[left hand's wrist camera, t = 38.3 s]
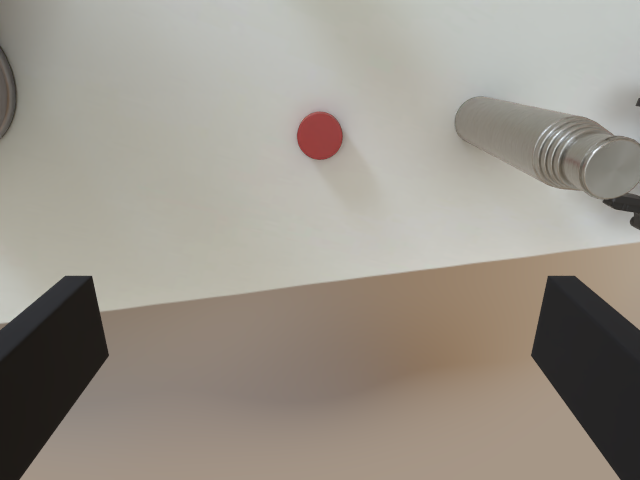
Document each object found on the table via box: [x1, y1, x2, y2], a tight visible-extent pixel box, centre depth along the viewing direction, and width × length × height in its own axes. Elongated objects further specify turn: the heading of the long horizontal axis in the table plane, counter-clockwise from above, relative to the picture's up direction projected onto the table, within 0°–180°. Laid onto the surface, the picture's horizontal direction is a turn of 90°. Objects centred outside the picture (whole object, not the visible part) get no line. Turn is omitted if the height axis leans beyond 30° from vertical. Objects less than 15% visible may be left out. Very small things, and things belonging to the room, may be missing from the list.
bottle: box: [455, 96, 640, 199], centre depth 35 cm, size 5×5×23 cm
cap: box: [297, 112, 343, 160], centre depth 46 cm, size 5×5×2 cm
